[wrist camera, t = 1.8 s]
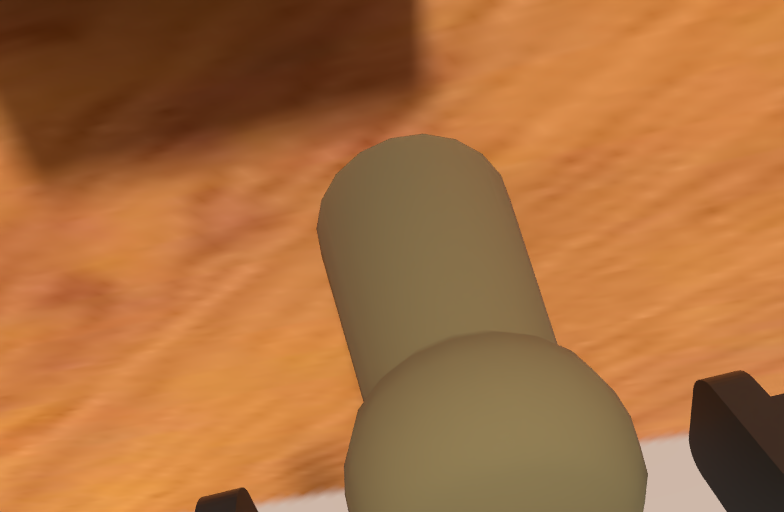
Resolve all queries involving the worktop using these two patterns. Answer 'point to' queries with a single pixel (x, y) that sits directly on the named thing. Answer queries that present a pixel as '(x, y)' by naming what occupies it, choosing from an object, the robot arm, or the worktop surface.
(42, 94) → the worktop surface
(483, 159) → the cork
